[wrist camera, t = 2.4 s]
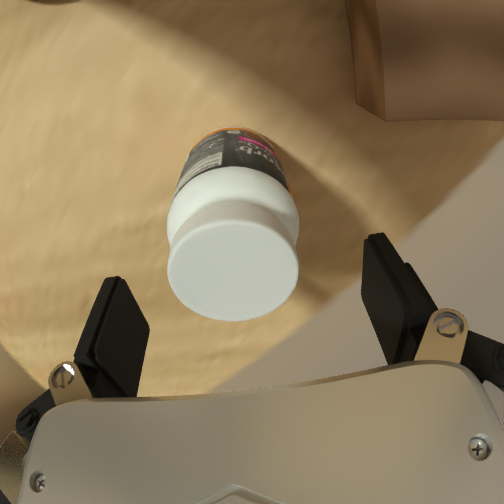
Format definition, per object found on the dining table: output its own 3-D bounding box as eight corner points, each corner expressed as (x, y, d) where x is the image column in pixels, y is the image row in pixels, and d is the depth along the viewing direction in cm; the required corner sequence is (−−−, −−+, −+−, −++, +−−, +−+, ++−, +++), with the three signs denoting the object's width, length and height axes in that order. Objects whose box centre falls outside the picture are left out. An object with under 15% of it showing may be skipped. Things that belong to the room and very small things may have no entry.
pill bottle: (297, 168, 19) (346, 275, 11) (232, 224, 22) (235, 348, 14) (232, 103, 17) (235, 169, 9) (165, 170, 19) (123, 280, 11)
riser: (335, -51, 11) (361, -70, 8) (472, -27, 10) (511, -28, 7) (356, 104, 17) (385, 121, 14) (480, 104, 16) (517, 121, 13)
